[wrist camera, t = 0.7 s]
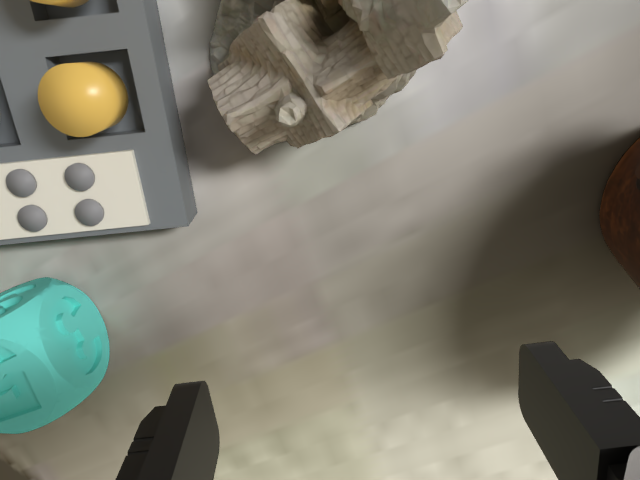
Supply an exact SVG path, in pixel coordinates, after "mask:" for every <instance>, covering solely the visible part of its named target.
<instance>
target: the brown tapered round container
mask: <svg viewBox="0 0 640 480" xmlns="http://www.w3.org/2000/svg"><path fill="white" fill-rule="evenodd" d="M600 225H601V230H602V234H603V236H604V239H605V242H606V244H607V246H608V247H609V249H610V250H611V252H612V253H613V255H614V256H615V258H616V259H617V260H618V262H619V263H620V264H621V266H622V267H623V268H624V269H625V271H626V272H627V273H628V274H629V276H630V277H631V278H632V279H633V281H634V282H635V283H636V285H637V286H638V287H639V288H640V138H639V139H638V140H637V141H636V142H635V143H634V144H633V145H632V146H631V147H630V148H629V149H628V150H627V152H626V153H625V154H624V155H623V157H622V158H621V159H620V161H619V162H618V164H617V165H616V167H615V169H614V170H613V172H612V174H611V176H610V178H609V179H608V182H607V184H606V187H605V190H604V193H603V197H602V201H601V207H600Z"/></svg>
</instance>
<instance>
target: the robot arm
mask: <svg viewBox="0 0 640 480" xmlns="http://www.w3.org/2000/svg"><path fill="white" fill-rule="evenodd" d="M518 396H519V404H520V408H521V412H522V415H523V417H524V420H525V422H526V423H527V425H528V427H529V429H530V430H531V432H532V434H533V436H534V437H535V439H536V441H537V443H538V444H539V446H540V448H541V450H542V452H543V453H544V455H545V457H546V459H547V460H548V462H549V464H550V466H551V467H552V469H553V471H554V473H555V474H556V476H557V478H558V480H640V417H639V416H638V415H637V414H636V413H635V411H634V410H633V409H632V408H631V407H630V406H629V405H628V403H627V402H626V401H623V399H622V397H621V395H620V394H619V393H618V392H617V391H616V390H615V389H614V388H612V385H611V384H610V383H609V382H608V381H607V379H606V378H605V377H604V376H603V375H602V374H601V373H600V371H599V370H597V369H595V368H594V367H592V366H590V365H589V364H587V363H585V362H584V361H582V360H580V359H574V360H569V359H568V358H567V357H566V355H565V354H564V353H563V352H562V350H561V349H560V348H559V347H558V345H557V344H556V343H555V342H553V341H549V342H541V343H532V344H524V345H521V347H520V352H519V390H518ZM219 444H220V441H219V430H218V425H217V421H216V417H215V413H214V409H213V405H212V401H211V397H210V393H209V389H208V385H207V383H206V382H205V381H198V382H189V383H181V384H175V385H174V387H173V389H172V392H171V394H170V397H169V399H168V402H167V405H166V406H158V407H154V409H153V410H152V411H151V412H150V413H149V414H148V415H147V416H146V417H145V418H144V419H143V420H142V421H141V423H140V425H139V427H138V430H137V432H136V434H135V437H134V442H132V443H131V446H130V448H129V450H128V456H126V457H125V460H124V462H123V464H122V466H121V469H120V471H119V473H118V476H117V478H116V480H213V478H214V473H215V469H216V464H217V459H218V455H219Z"/></svg>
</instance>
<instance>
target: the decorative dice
mask: <svg viewBox="0 0 640 480" xmlns="http://www.w3.org/2000/svg"><path fill="white" fill-rule="evenodd" d="M109 352H110V351H109V339H108V334H107V330H106V327H105V324H104V321H103V319H102V317H101V315H100V313H99V311H98V309H97V308H96V306H95V305H94V303H93V302H92V301H91V300H90V298H89V297H88V296H87V295H86V294H84V293H83V292H82V291H81V290H79V289H77V288H76V287H74V286H72V285H70V284H68V283H65V282H63V281H60V280H57V279H53V278H48V277H45V278H39V279H35V280H32V281H29V282H26V283H23V284H21V285H18V286H16V287H13V288H11V289H9V290H7V291H4V292H2V293H0V433H8V434H19V433H25V432H29V431H32V430H35V429H37V428H40V427H42V426H44V425H46V424H48V423H50V422H52V421H54V420H56V419H58V418H59V417H61V416H63V415H64V414H66V413H67V412H69V411H70V410H72V409H73V408H74V407H76V406H77V405H78V404H79V403H81V402H82V401H83V400H84V399H85V398H87V397H88V396H89V395H90V394H91V393H92V392H93V391H94V390H95V389H96V387H97V386H98V385H99V384H100V382H101V381H102V379H103V377H104V375H105V373H106V370H107V367H108V362H109Z"/></svg>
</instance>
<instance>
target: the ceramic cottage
mask: <svg viewBox="0 0 640 480" xmlns="http://www.w3.org/2000/svg"><path fill="white" fill-rule="evenodd" d="M467 1H468V0H221V2H220V6H219V10H218V13H217V20H216V21H215V27H214V30H213V34H212V38H211V41H210V63H211V69H212V72H213V75H214V76H213V77H211V78H210V79H208V84H209V87H210V89H211V90H212V94H213V99H214V102H215V104H216V106H217V108H218V110H219V112H220V114H221V115H222V117H223V119H224V121H225V123H226V124H227V127H228V128H229V130H230V131H231V132H234V133H235V134H236V136H237V137H238V138H239V139H240V140H241V141H242V142H243V144H245V145H246V146H247V148H248V149H249V150H250V151H251V152H252V153H254V154H256V155H257V154H258V153H259V152H261V151H262V150H264V149H265V148H267V147H269V146H272V145H274V144H277V143H281V142H284V141H287V142H288V143H289V144H290V145H291V146H294V147H297V148H299V147H301V146H303V145H306V144H310V143H313V142H316V141H318V140H320V139H321V138H325V137H331V136H333V135H335V134H336V133H338V132H340V131H342V130H343V129H345V128H346V127H347V126H348V125H352V124H354V123H357V122H361V121H364V120H366V119H368V118H370V117H372V116H373V115H375V114H376V113H377V110H378V108H380V107H381V106H382V105H383V104H384V103H385V102H386V99H387V98H388V97H389V96H390V95H392V94H393V93H396V92H399V91H401V90H402V89H403V88H404V87H405V86H406V85H407V84H408V82H409V80H410V79H411V78H412V77H413V76H414V74H415V72H416V70H417V69H418V68H420V67H422V66H424V65H426V64H428V63H429V62H431V61H434V60H437V59H440V58H442V56H443V55H444V54H445V52H446V51H447V46H446V45H447V44H448V42H449V41H450V39H451V38H452V37H454V36H455V35H456V34H457V33H458V32H459V31H460V30H461V29H462V27H463V26H462V23H461V21H460V19H459V16H458V14H457V12H456V10H457V9H459V8H460V7H461V6H462V5H464V4H465V3H466V2H467Z"/></svg>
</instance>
